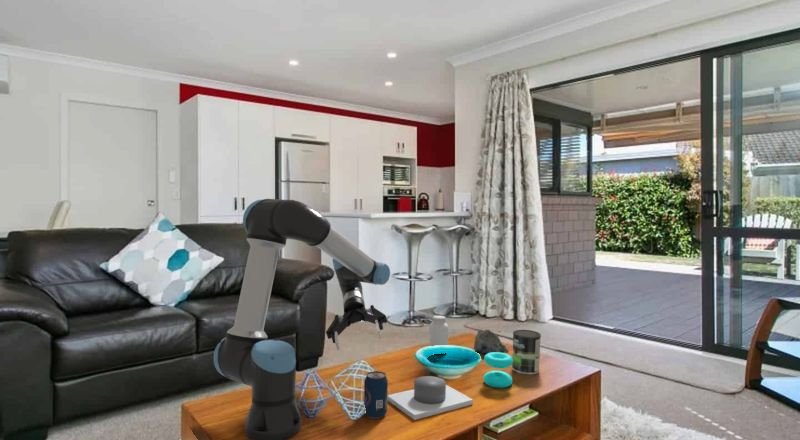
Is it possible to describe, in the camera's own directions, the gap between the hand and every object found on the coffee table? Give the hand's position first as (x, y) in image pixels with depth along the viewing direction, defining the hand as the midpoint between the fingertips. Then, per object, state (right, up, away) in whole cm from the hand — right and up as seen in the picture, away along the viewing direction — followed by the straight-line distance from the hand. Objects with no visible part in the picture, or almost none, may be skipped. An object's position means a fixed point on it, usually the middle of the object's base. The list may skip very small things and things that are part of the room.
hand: (358, 340), depth 152 cm
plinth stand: (+22, -20, +2) cm, 30 cm away
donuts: (+47, -20, +18) cm, 55 cm away
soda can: (+6, -20, -7) cm, 22 cm away
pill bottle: (+29, -18, +52) cm, 62 cm away
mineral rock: (+51, -18, +51) cm, 74 cm away
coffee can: (+61, -19, +33) cm, 72 cm away
